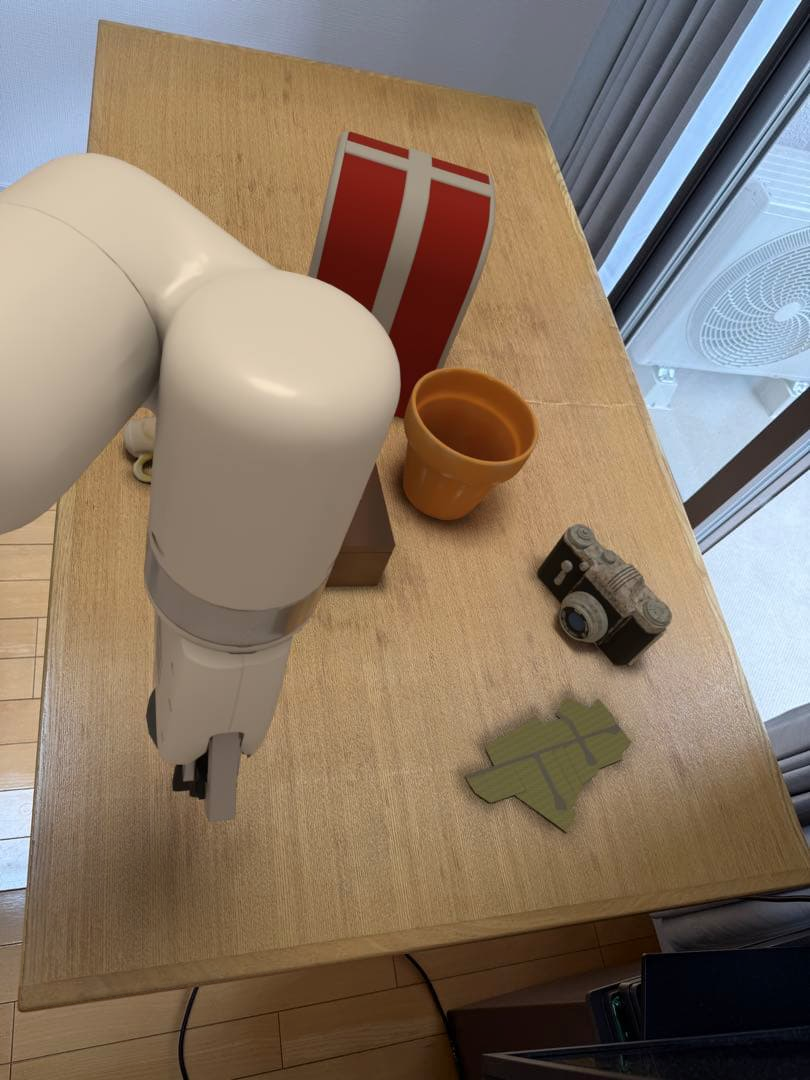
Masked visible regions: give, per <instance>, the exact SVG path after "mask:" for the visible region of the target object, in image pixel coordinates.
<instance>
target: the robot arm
mask: <svg viewBox="0 0 810 1080" xmlns="http://www.w3.org/2000/svg"><path fill="white" fill-rule="evenodd" d="M400 386H401V384H400V368H399V362H398V358H397V355H396V351H395V349H394V346H393V344H392V342H391V340H390V338H389V336H388V334H387V333H386V331H385V329H384V328H383V326H382V325H381V324H380V323H379V321H378V320H377V319H376V318H375V317H374V316H373V315H372V314H371V313H370V312H369V311H368V310H367V309H366V308H365V307H364V306H363V305H361V304H360V303H359V302H357V301H356V300H354V299H353V298H352V297H350V296H349V295H348V294H346V293H344V292H343V291H341V290H339V289H337V288H336V287H334V286H332V285H329V284H327V283H325V282H323V281H320V280H318V279H315V278H312V277H309V276H308V275H306V274H303V273H302V274H301V273H298V272H292V271H287V270H281V269H277V268H276V267H275V266H274V265H272V264H271V263H269V262H268V261H266V260H265V259H264V258H262V257H261V256H259V255H258V254H257V253H255V252H254V251H252V250H251V249H250V248H248V247H247V246H245V245H244V244H242V243H241V242H240V241H239V240H238V239H236V238H235V237H233V236H232V235H231V234H230V233H228V232H227V231H226V230H224V229H223V227H221V226H220V225H218V224H217V223H216V222H215V221H213V220H212V219H210V218H209V217H208V216H207V215H206V214H204V213H203V212H202V211H201V210H199V209H198V208H197V207H195V206H194V205H193V204H191V203H190V202H189V201H188V200H186V199H185V198H183V196H181V195H180V194H178V193H177V192H176V191H174V190H173V189H171V188H170V187H169V186H167V185H166V184H165V183H163V182H162V181H160V180H159V179H157V178H156V177H154V176H153V175H151V174H149V173H148V172H145V171H144V170H143V169H141V168H139V167H137V166H135V165H134V164H130V163H129V162H126V161H124V160H122V159H119V158H117V157H114V156H110V155H106V154H101V153H95V152H78V153H77V152H76V153H70V154H69V153H68V154H65V155H62V156H59V157H55V158H53V159H51V160H49V161H46V162H45V163H43V164H41V165H39V166H37V167H36V168H34V169H32V170H31V171H29V172H28V173H26V174H24V175H23V176H22V177H20V178H18V179H17V180H16V181H14V182H13V183H11V184H10V185H8V186H7V187H5V188H3V190H1V191H0V536H2V535H5V534H8V533H10V532H11V533H12V532H14V531H17V530H19V529H22V528H24V527H25V526H27V525H29V524H31V523H33V522H35V521H36V520H37V519H39V518H40V517H42V516H43V515H44V514H45V513H46V512H48V511H49V510H50V509H51V508H52V507H54V505H55V504H57V503H58V501H59V500H60V499H61V498H62V497H63V496H64V495H65V494H66V493H67V492H68V491H69V490H70V489H71V487H73V485H75V483H76V482H78V480H79V479H80V478H81V476H82V475H84V473H85V472H86V471H87V470H88V468H89V467H90V466H91V465H92V464H93V463H94V462H95V461H96V459H97V458H98V457H99V456H100V455H101V453H102V452H103V451H104V450H105V449H106V447H108V446H109V444H110V443H111V442H112V440H113V439H115V437H116V436H117V435H118V434H119V433H120V431H121V430H122V429H124V428H125V426H126V425H127V424H128V423H129V422H130V420H131V418H133V416H134V415H135V414H136V413H137V412H138V410H139V409H147V410H149V411H150V412H152V413H153V416H156V428H155V440H154V453H153V459H152V467H151V476H152V479H151V482H150V494H149V505H148V518H147V527H146V528H147V529H146V539H145V550H144V551H145V552H144V565H143V582H144V587H145V592H146V594H147V598H148V601H149V602H150V604H151V605H152V608H153V610H154V615H153V616H154V617H153V618H154V620H153V621H154V622H153V623H154V625H153V627H154V628H153V629H154V630H153V633H154V634H153V635H154V636H153V637H154V639H153V640H154V641H153V642H154V688H155V696H156V728H157V745H158V749H157V751H158V755H159V757H160V758H161V760H162V761H163V762H164V763H166V764H167V765H174V769H173V774H172V779H171V791H172V792H176V793H177V792H179V793H180V792H189V793H188V795H189V797H191V798H193V799H194V798H195V799H197V798H198V801H202V800H204V809H205V814H206V818H207V822H208V823H211V822H221V821H231V820H232V821H233V820H236V813H237V812H236V811H237V791H238V777H239V773H240V772H239V771H240V766H241V765H240V763H241V758H242V757H241V756H242V755H245V756H246V758H247V759H250V758H251V757H253V756H254V755H255V754H256V753H257V752H258V751H259V749H260V748H261V747H262V745H263V743H264V742H265V739H266V737H267V736H268V733H269V731H270V729H271V725H272V722H273V720H274V717H275V713H276V710H277V706H278V702H279V699H280V696H281V691H282V688H283V684H284V680H285V675H286V671H287V668H288V663H289V662H288V661H289V657H290V652H291V647H292V642H293V637H294V636H295V635H296V634H298V633H299V632H300V631H301V630H302V629H303V628H304V627H305V626H306V625H307V624H308V623H309V621H310V620H311V618H312V616H313V615H314V613H315V611H316V609H317V608H318V604H319V602H320V600H321V597H322V595H323V593H324V589H325V588H326V586H325V585H326V582H327V580H328V578H329V575H330V573H331V570H332V568H333V565H334V562H335V560H336V558H337V555H338V553H339V550H340V548H341V545H342V543H343V540H344V538H345V535H346V533H347V531H348V528H349V526H350V523H351V521H352V519H353V516H354V514H355V511H356V509H357V507H358V504H359V502H360V499H361V497H362V494H363V492H364V489H365V487H366V485H367V482H368V480H369V477H370V475H371V472H372V470H373V467H374V465H375V463H376V464H377V460H378V457H379V455H380V453H381V451H382V448H383V446H384V443H385V440H386V438H387V436H388V433H389V430H390V428H391V426H392V422H393V419H394V417H395V416H394V414H395V411H396V408H397V405H398V401H399V395H400ZM207 748H209V751H207Z"/></svg>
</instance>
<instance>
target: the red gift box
mask: <svg viewBox="0 0 810 1080" xmlns="http://www.w3.org/2000/svg"><path fill="white" fill-rule="evenodd" d="M494 183H495V182H494V179H493V177H492V176H491V175H490V174H487V173H485V172H481V171H477V170H474V169H471V168H469V167H464V166H462V165H458V164H455V163H453V162H449V161H446V160H443V159H439V158H436V157H434V156H432V154H431V153H428V152H425V151H421V150H420V149H419V150H418V149H416V148H412V147H409V148H408V149H407V148H406V147H405V148H404V147H402V146H398V145H396V144H392V143H389V142H385V141H384V140H383V141H382V140H379V139H376V138H373V137H370V136H366V135H363V134H359V133H357V132H354V131H349V130H344V131H342V132H341V133H340V134H339V137H338V140H337V144H336V148H335V153H334V158H333V163H332V166H331V171H330V176H329V181H328V184H327V188H326V189H327V190H326V193H325V198H324V203H323V208H322V212H321V217H320V220H319V226H318V230H317V234H316V240H315V244H314V247H313V251H312V255H311V258H310V263H309V267H308V273H307V276H309V277H312V278H315V279H318V280H320V281H323V282H325V283H327V284H329V285H332V286H334V287H336V288H337V289H339V290H341V291H343V292H344V293H346V294H348V295H349V296H350V297H352V298H353V299H354V300H356V301H357V302H359V303H360V304H361V305H363V306H364V307H365V308H366V309H367V310H368V311H369V312H370V313H371V314H372V315H373V316H374V317H375V318H376V319H377V320H378V321H379V323H380V324H381V325H382V326H383V328H384V329H385V331H386V333H387V334H388V336H389V338H390V340H391V342H392V344H393V346H394V349H395V351H396V355H397V358H398V362H399V368H400V384H401V386H400V395H399V401H398V405H397V408H396V411H395V414H394V417H396V418H401V419H404V416H405V412H406V409H407V406H408V403H409V400H410V397H411V394H412V391H413V389H414V387H415V385H416V383H417V382H418V381H419V380H420V379H421V378H422V377H423V376H424V375H426V374H427V373H429V372H432V371H434V370H437V369H441V368H445V365H446V362H447V360H448V357H449V355H450V352H451V350H452V348H453V345H454V342H455V340H456V338H457V336H458V333H459V330H460V329H461V327H462V324H463V322H464V320H465V316H466V314H467V312H468V310H469V307H470V304H471V302H472V301H473V297H474V295H475V293H476V290H477V287H478V285H479V283H480V279H481V277H482V274H483V271H484V268H485V265H486V263H487V259H488V255H489V253H490V249H491V245H492V241H493V236H494V231H495V222H496V205H497V204H496V190H495V184H494Z"/></svg>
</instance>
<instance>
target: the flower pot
mask: <svg viewBox="0 0 810 1080" xmlns="http://www.w3.org/2000/svg"><path fill="white" fill-rule="evenodd" d="M403 430H404V435H405V438H406V440H407V443H406V451H405V459H404V460H405V461H404V469H403V471H404V472H403V480H402V481H403V483H402V485H403V486H402V487H403V491H404V494H405V496H406V498H407V500H408V501H409V502H410V503H411V505H412V506H414V507H415V509H417V510H418V511H420V512H421V513H422V514H424V515H426V516H429V517H431V518H435V519H438V520H441V521H442V520H443V521H454V520H458V519H461V518H464V517H465V516H467V515H468V514H470V513H471V511H472V510H473V509H475V508H476V507H477V506H478V504H480V503H481V502H482V501H483V500H484V499H485V498H486V497H487V496H488V495H489V494H490V493H491V492H492V491H493V490H494V488H495V487H496V486H498V485H500V484H503V483H506V482H507V481H509V480H511V479H513V478H515V476H517V474H519V472H520V471H521V470H522V469H523V468H524V466H525V464H526V463H527V462H528V460H529V458H530V457H531V455H532V453H533V452H534V450H535V448H536V446H537V444H538V441H539V435H540V434H539V424H538V420H537V417H536V415H535V412H534V410H532V408H531V406H530V404H529V403H528V402H527V401H526V400H525V398H523V396H522V395H521V394H520V393H518V392H517V390H515V389H514V388H513V387H512V386H510V385H509V384H508V383H506V382H504V381H502V380H501V379H499V378H497V377H495V376H493V375H491V374H488V373H486V372H483V371H480V370H477V369H472V368H468V367H460V366H457V367H456V366H450V367H449V366H448V367H443V368H441V369H437V370H434V371H432V372H429V373H427V374H426V375H424V376H423V377H422V378H421V379H420V380H419V381H418V382H417V383H416V385H415V387H414V389H413V391H412V394H411V397H410V400H409V403H408V406H407V409H406V412H405V416H404V418H403Z"/></svg>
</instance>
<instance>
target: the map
mask: <svg viewBox="0 0 810 1080" xmlns="http://www.w3.org/2000/svg"><path fill="white" fill-rule="evenodd" d="M555 716H556V717H558V718H559V719H556V720H553V721H549V722H546V723H543V724H541V721H540V720H539V718H538V716H537V714H534V716H533V717H532V718H531V719H530V720H529V721H527V722H526V723H523V724H522V725H520V726H518V727H517V728H514V729H513V730H512V731H510V732H508V733H506V734H505V735H503V736H502V737H500V738H498V739H496V740H495V741H493V742H492V743H490V744H488V745H486V746H485V751H486V752H487V755H488V757H489V758H490V761H491V762H492V766H490V767H487V768H483V769H481V770H478V771H475V772H472V773H469V774H467V775H464V777H465V779H466V781H467V783H468V784H469V786H470V787H471V789H472V791H473V792H474V793H475V794H476V795H477V796H478V797H481V798H482V799H484V800H485V801H487V802H488V803H491V804H492V803H496V802H498V801H501V800H503V799H506V798H507V799H508V798H509V797H512V796H515V797H516V798H518V799H519V800H520V801H522V802H523V803H525V804H526V805H528V806H529V807H530V808H532V809H533V810H535V811H536V812H537V813H539V814H540V815H542V816H543V817H544V818H546V819H547V820H549V821H550V822H552V823H553V824H554V825H556V826H557V827H559V828H560V829H561V830H563V831H564V832H565V833H569V830H570V828H571V826H572V824H573V822H574V820H575V818H576V816H577V813H576V812H575V810H574V809H573V808H574V806H575V804H576V801H577V800H578V797H579V794H580V792H581V790H582V789H583V786H584V785H585V784H587V783H588V782H589V781H591V779H592V778H593V777H595V776H596V775H597V774H598V773H599V769H601V768H604V767H607V766H608V765H610V764H614V763H617V762H619V761H622V760H623V759H624V757H623V751H625V750H626V749H627V748H628V747H629V746H630V745H631V744H632V743H633V741H632V740H631V739H630V738H629V737H628V736H627V735H626V733H625V732H624V731H623V729H622V728H621V727H620V726H619V724H618V723H617V722H616V721H615V720H614V716H613V713H612V712H611V711H610V710H609V709H608V708H607V707H606V705H605V704H604V703H603V702H602V700H600V698H597V699H596V700H595V702H594V703H593V705H592V706H591V708H589V707H587V706H585V705H583V704H581V703H580V702H578V701H576V700H575V699H573V698H571V697H570V696H567V697H566V698H565V700H564V701H563V703H562V704H561V706H560V707H559V708H558V710H557V712H556V713H555Z"/></svg>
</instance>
